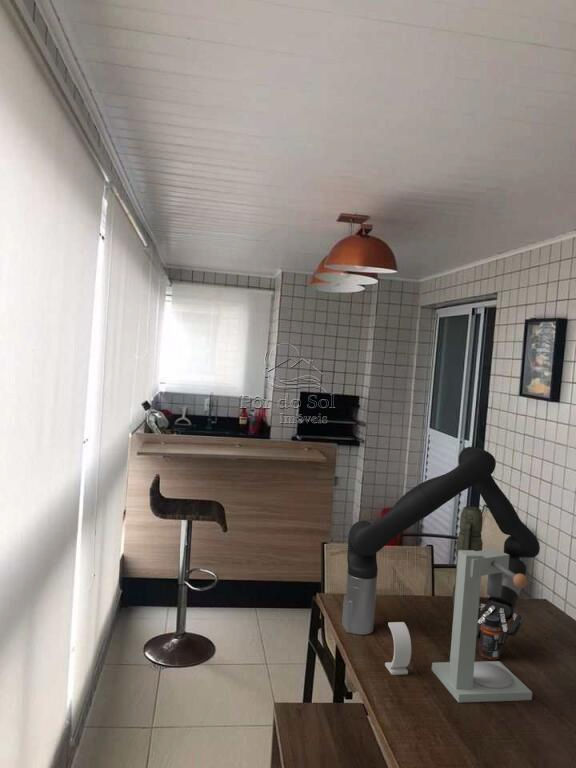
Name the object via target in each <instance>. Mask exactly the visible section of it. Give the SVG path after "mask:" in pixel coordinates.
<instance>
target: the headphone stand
mask: <svg viewBox="0 0 576 768" xmlns="http://www.w3.org/2000/svg"><path fill="white" fill-rule="evenodd" d="M387 623H388V624H387V625H388V627H389V629H390V632H391V636H392V639H393V641H392V642H393V658H392V661H391V662H390V661H389V662H387V661H386V662H385V663H384V666H385V667H386V669H387V670H388V671H389V673H390V674H391V675H393V676H395V675H408V674H409V670H408V669H407V667H408V666H409V664H410V662H411V658H412V641H411V635H410V631H409V628H408V627H407V625H406V623H405V622H404V621H398V622H397V621H394V622H393V621H391V622H390V621H389V622H387Z"/></svg>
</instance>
